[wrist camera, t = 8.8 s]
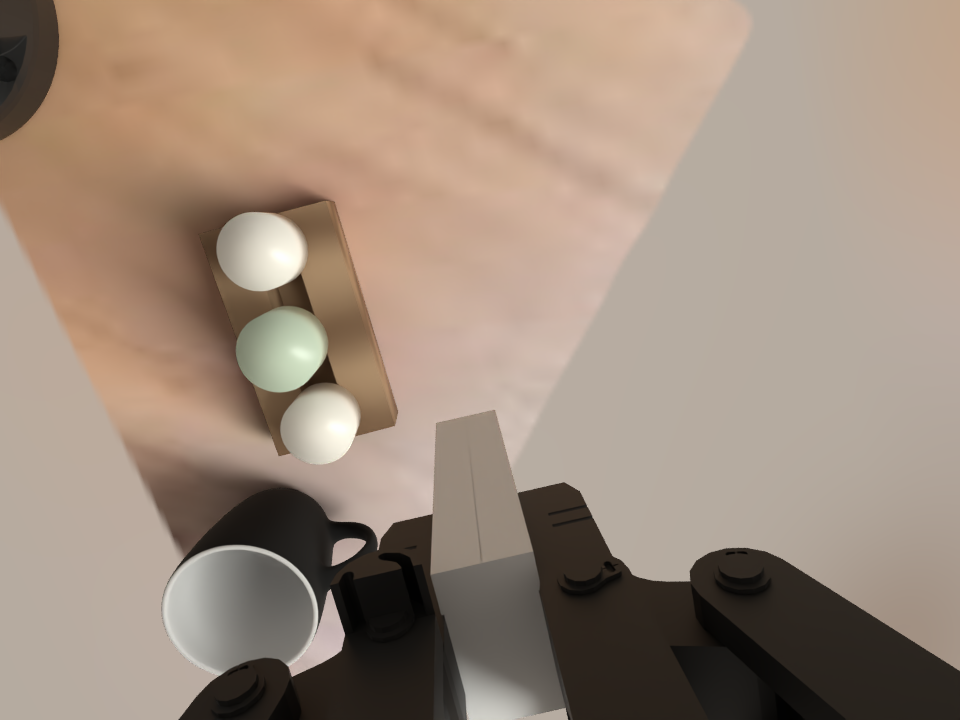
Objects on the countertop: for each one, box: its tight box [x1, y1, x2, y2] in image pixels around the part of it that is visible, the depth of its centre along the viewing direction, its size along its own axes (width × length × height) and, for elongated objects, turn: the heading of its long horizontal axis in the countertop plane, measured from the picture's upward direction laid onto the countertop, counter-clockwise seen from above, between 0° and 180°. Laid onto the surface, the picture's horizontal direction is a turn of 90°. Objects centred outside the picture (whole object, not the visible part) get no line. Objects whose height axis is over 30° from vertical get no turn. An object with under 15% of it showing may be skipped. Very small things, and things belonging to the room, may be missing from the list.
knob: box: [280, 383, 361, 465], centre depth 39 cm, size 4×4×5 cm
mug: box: [162, 488, 378, 676], centre depth 40 cm, size 12×9×10 cm
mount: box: [199, 201, 398, 456], centre depth 40 cm, size 15×8×3 cm, turn 14°
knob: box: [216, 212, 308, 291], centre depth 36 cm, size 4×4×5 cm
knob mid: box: [236, 306, 328, 392], centre depth 35 cm, size 4×4×5 cm
